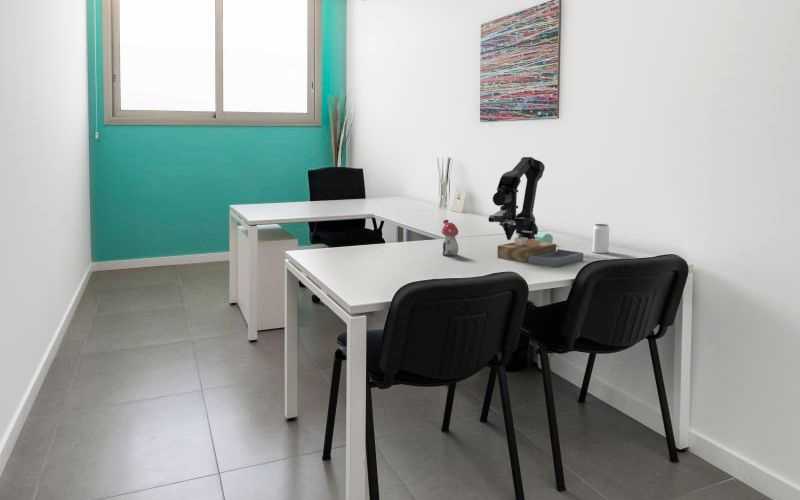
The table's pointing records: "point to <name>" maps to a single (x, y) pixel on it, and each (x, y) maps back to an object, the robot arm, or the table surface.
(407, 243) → the table surface
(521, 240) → the cream tile
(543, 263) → the box
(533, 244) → the terracotta tile
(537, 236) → the container
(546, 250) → the walnut plate
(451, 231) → the decorative ornament
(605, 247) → the can
